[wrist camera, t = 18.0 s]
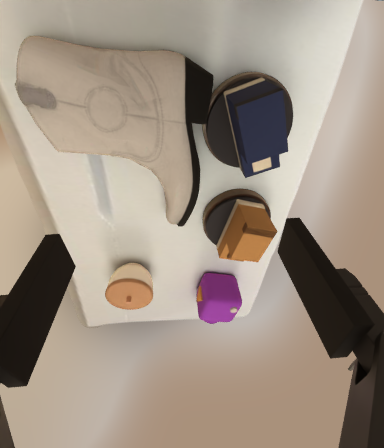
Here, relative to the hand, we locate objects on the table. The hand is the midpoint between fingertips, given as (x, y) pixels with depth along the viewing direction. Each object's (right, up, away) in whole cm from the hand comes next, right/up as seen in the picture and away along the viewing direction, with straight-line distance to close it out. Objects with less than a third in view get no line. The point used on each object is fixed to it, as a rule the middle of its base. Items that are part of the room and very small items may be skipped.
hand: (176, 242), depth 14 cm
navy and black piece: (+10, +17, +24) cm, 31 cm away
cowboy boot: (-10, +15, +26) cm, 32 cm away
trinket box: (-14, -11, +47) cm, 50 cm away
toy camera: (+7, -16, +53) cm, 56 cm away
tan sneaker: (+11, +1, +36) cm, 38 cm away
